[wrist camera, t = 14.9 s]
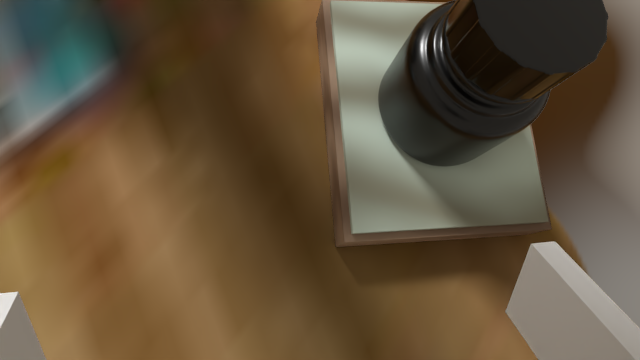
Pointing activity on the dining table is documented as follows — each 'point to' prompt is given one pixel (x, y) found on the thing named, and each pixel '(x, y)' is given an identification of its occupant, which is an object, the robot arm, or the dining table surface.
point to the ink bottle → (483, 72)
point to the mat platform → (392, 162)
